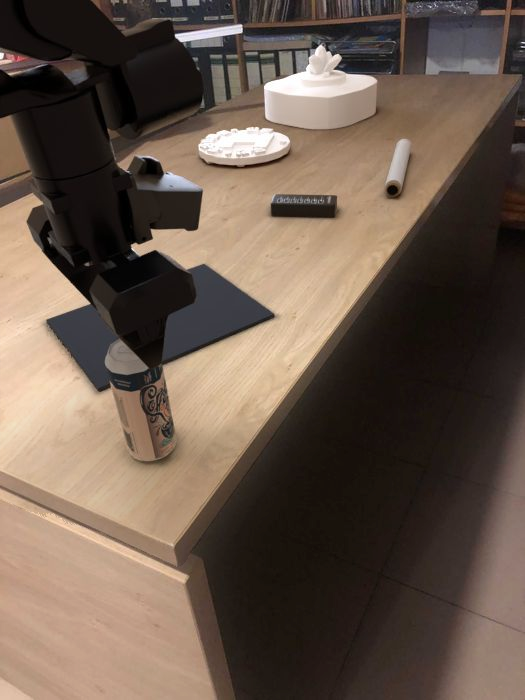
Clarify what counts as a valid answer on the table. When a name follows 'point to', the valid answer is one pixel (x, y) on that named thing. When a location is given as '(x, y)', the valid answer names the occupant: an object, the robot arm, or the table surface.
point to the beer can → (141, 404)
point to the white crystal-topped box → (321, 96)
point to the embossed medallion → (243, 146)
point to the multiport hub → (304, 205)
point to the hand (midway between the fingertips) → (131, 339)
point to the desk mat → (181, 330)
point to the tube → (398, 168)
